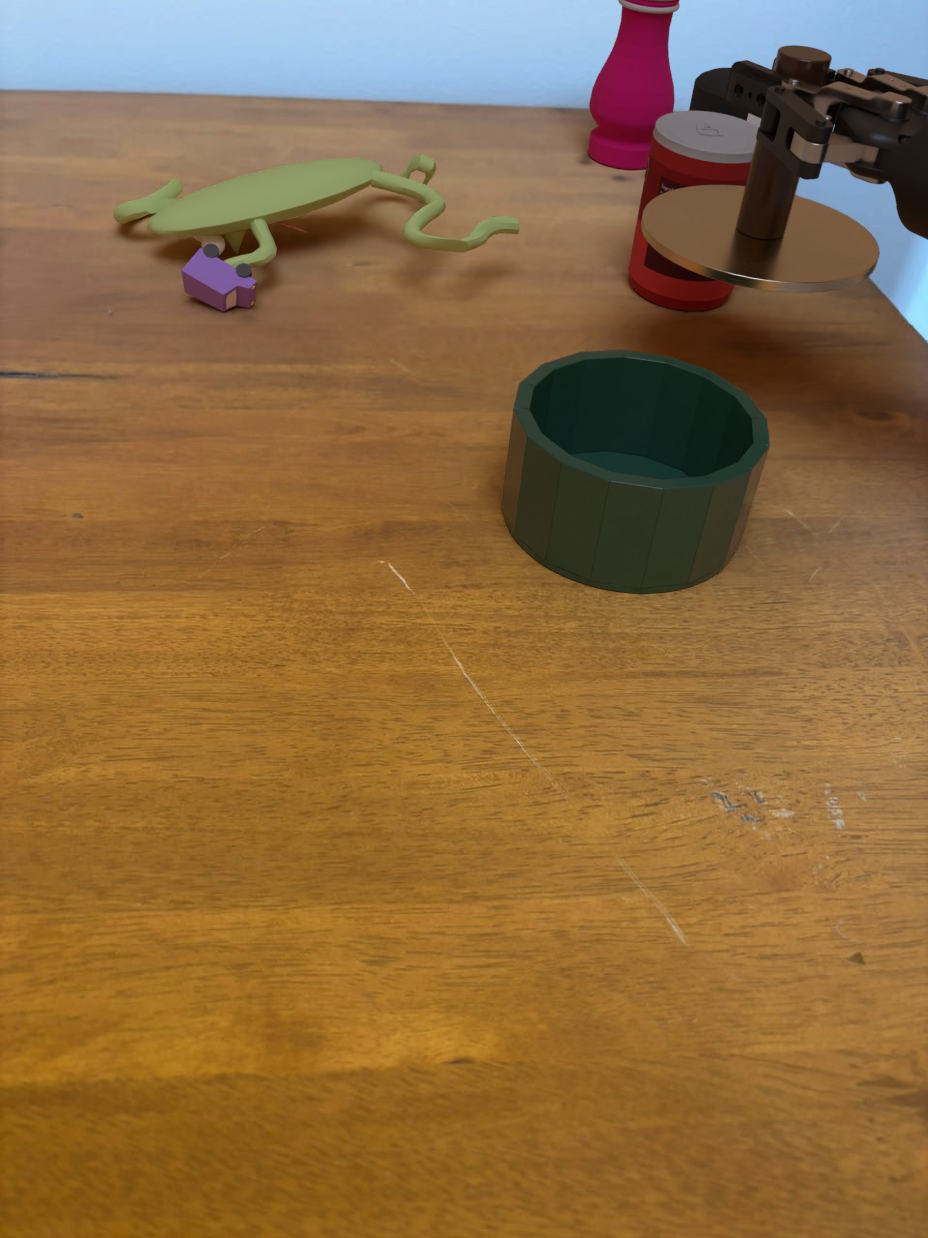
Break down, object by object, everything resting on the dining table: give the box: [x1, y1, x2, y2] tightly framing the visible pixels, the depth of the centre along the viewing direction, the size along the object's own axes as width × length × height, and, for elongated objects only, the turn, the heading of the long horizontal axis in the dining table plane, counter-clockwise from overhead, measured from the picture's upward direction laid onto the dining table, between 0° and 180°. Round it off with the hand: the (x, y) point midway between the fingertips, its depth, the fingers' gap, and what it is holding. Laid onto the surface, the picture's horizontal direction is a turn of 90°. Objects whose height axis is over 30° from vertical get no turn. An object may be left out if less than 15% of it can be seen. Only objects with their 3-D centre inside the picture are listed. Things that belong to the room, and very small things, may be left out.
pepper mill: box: [587, 0, 681, 170], centre depth 94 cm, size 7×7×20 cm
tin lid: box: [641, 44, 881, 294], centre depth 63 cm, size 14×14×11 cm
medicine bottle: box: [688, 67, 761, 127], centre depth 85 cm, size 7×7×12 cm
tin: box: [501, 349, 771, 594], centre depth 59 cm, size 13×13×6 cm
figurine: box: [112, 153, 520, 312], centre depth 80 cm, size 18×27×6 cm
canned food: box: [628, 110, 759, 312], centre depth 79 cm, size 8×8×11 cm
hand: (754, 76), depth 63 cm, fingers closed on tin lid, 3 cm apart
